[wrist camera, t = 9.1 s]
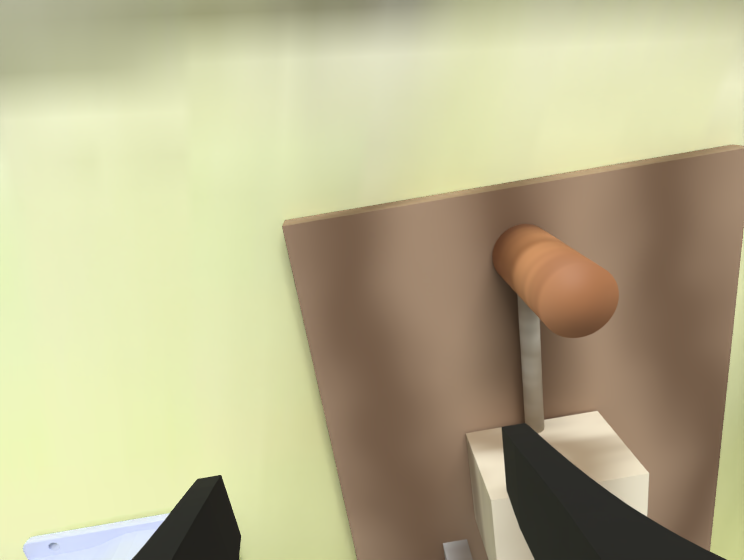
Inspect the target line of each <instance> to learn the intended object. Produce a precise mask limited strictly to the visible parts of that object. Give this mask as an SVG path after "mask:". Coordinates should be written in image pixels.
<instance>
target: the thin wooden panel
mask: <svg viewBox="0 0 744 560" xmlns="http://www.w3.org/2000/svg"><path fill="white" fill-rule="evenodd" d="M520 224H532V225H535V226H538V227H540V228H541V229H543V230H544V231H546V232H548V233H549V234H551V235H552V236H554V237H555V238H557V239H559V240H560V241H562V242H563V243H565V244H566V245H568V246H570V247H571V248H573V249H574V250H576V251H577V252H579V253H580V254H582V255H584V256H585V257H587V258H588V259H590V260H591V261H593V262H595V263H596V264H598V265H599V266H601V267H602V268H604V269H605V270H607V271H608V272H609V273H610V274H611V275H612V276H613V277H614V279H615V281H616V283H617V285H618V290H619V301H618V305H617V308H616V310H615V312H614V314H613V316H612V317H611V319H610V320H609V321H608V322H607V323H606V324H605V325H604V326H603V327H602V328H601V329H599V330H598V331H596V332H595V333H593V334H590V335H588V336H585V337H580V338H566V337H562V336H559V335H557V334H555V333H553V332H552V331H551V330H550V329H549V328H548V327H547V326H546V325H545V324H544V323H543V322H542V321H541V320H540V341H541V364H542V386H543V409H544V420H546V419H552V418H558V417H564V416H569V415H575V414H581V413H587V412H593V411H598V412H599V413H600V415H601V416H602V417H603V418H604V419H605V421H606V422H607V423H608V424H609V425H610V427H611V428H612V429H613V430H614V431H615V433H616V434H617V435H618V436H619V438H620V439H621V440H622V441H623V442H624V444H625V445H626V446H627V447H628V448H629V450H630V451H631V452H632V453H633V454H634V456H635V457H636V458H637V459H638V460H639V462H640V463H641V464H642V465H643V466H644V468H645V469H646V470H647V471H648V472H649V487H648V509H647V517H648V518H650V519H652V520H653V521H655V522H657V523H658V524H660V525H662V526H663V527H665V528H667V529H669V530H670V531H672V532H674V533H676V534H677V535H679V536H681V537H683V538H685V539H687V540H689V541H691V542H692V543H694V544H696V545H698V546H700V547H702V548H704V549H706V550H708V551H710V544H711V535H712V525H713V516H714V506H715V497H716V487H717V477H718V468H719V458H720V449H721V439H722V430H723V420H724V411H725V401H726V391H727V382H728V372H729V363H730V353H731V344H732V334H733V325H734V315H735V305H736V296H737V286H738V277H739V267H740V258H741V248H742V239H743V229H744V146H740V145H728V146H722V147H716V148H710V149H704V150H698V151H692V152H686V153H680V154H675V155H669V156H663V157H657V158H651V159H645V160H639V161H633V162H627V163H621V164H615V165H609V166H604V167H598V168H592V169H586V170H580V171H574V172H568V173H562V174H556V175H550V176H544V177H538V178H533V179H527V180H521V181H515V182H509V183H503V184H497V185H491V186H485V187H479V188H473V189H467V190H462V191H456V192H450V193H444V194H438V195H432V196H426V197H420V198H414V199H408V200H402V201H396V202H391V203H385V204H379V205H373V206H367V207H361V208H355V209H349V210H343V211H337V212H331V213H325V214H320V215H314V216H308V217H302V218H296V219H290V220H285V221H284V224H283V226H282V228H283V232H284V237H285V241H286V245H287V250H288V254H289V259H290V263H291V268H292V272H293V276H294V281H295V285H296V290H297V294H298V299H299V303H300V307H301V312H302V316H303V321H304V325H305V330H306V334H307V338H308V343H309V347H310V352H311V356H312V361H313V365H314V369H315V374H316V378H317V383H318V387H319V392H320V396H321V400H322V405H323V409H324V414H325V418H326V423H327V427H328V431H329V436H330V440H331V445H332V449H333V454H334V458H335V462H336V467H337V471H338V476H339V480H340V485H341V489H342V493H343V498H344V502H345V507H346V511H347V516H348V520H349V524H350V529H351V533H352V538H353V542H354V547H355V551H356V556H357V560H488V556H487V553H486V550H485V547H484V544H483V541H482V538H481V535H480V532H479V529H478V526H477V523H476V520H475V513H474V504H473V495H472V486H471V477H470V468H469V459H468V450H467V441H466V433H470V432H476V431H482V430H488V429H494V428H499V427H504V426H510V425H516V424H522V423H525V413H524V397H523V380H522V364H521V347H520V331H519V314H518V298H517V293H516V292H515V291H514V290H513V289H512V288H511V287H510V286H509V285H508V284H507V282H506V281H505V280H504V279H503V278H502V277H501V276H500V275H499V274H498V273H497V271H496V270H495V267H494V265H493V261H492V253H493V248H494V245H495V243H496V241H497V240H498V238H499V237H500V236H501V235H502V234H503V233H504V232H505V231H506V230H508V229H509V228H511V227H513V226H516V225H520Z"/></svg>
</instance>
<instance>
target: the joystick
mask: <svg viewBox="0 0 744 560" xmlns="http://www.w3.org/2000/svg"><path fill="white" fill-rule="evenodd" d="M492 261H493V265H494V267H495V270H496V271H497V273H498V274H499V275H500V276H501V277H502V278H503V279H504V280H505V281H506V282H507V284H508V285H509V286H510V287H511V288H512V289H513V290H514V291H515V292H516V293H517V298H518V314H519V331H520V347H521V364H522V380H523V397H524V413H525V423H526V424H527V425H529V426H530V427H531V428H532V429H533V430H534V431H536V432H537V433H538V434H539V435H540V436H541V437H542V438H543V439H545V440H546V441H547V442H548V443H549V444H550V445H551V446H553V447H554V448H555V449H556V450H557V451H558V452H560V453H561V454H562V455H563V456H564V457H566V458H567V459H568V460H569V461H570V462H572V463H573V464H574V465H575V466H577V467H578V468H579V469H580V470H582V471H583V472H584V473H585V474H587V475H588V476H589V477H590V478H592V479H593V480H594V481H596V482H597V483H598V484H600V485H601V486H602V487H604V488H605V489H607V490H608V491H609V492H611V493H612V494H614V495H615V496H616V497H618V498H619V499H621V500H622V501H623V502H625V503H626V504H628V505H629V506H631V507H632V508H634V509H635V510H637V511H639V512H640V513H642V514H644V515H645V516H647V509H648V487H649V472H648V471H647V470H646V469H645V468H644V466H643V465H642V464H641V463H640V462H639V460H638V459H637V458H636V457H635V456H634V454H633V453H632V452H631V451H630V450H629V448H628V447H627V446H626V445H625V444H624V442H623V441H622V440H621V439H620V438H619V436H618V435H617V434H616V433H615V431H614V430H613V429H612V428H611V427H610V425H609V424H608V423H607V422H606V421H605V419H604V418H603V417H602V416H601V415H600V413H599V412H598V411H593V412H587V413H581V414H575V415H569V416H564V417H558V418H552V419H546V420H544V409H543V386H542V364H541V341H540V320H541V321H542V322H543V323H544V324H545V325H546V326H547V327H548V328H549V329H550V330H551V331H552V332H553V333H555V334H557V335H559V336H562V337H566V338H580V337H585V336H588V335H590V334H593V333H595V332H596V331H598V330H599V329H601V328H602V327H603V326H604V325H605V324H606V323H607V322H608V321H609V320H610V319H611V317H612V316H613V314H614V312H615V310H616V308H617V305H618V301H619V290H618V285H617V283H616V281H615V279H614V277H613V276H612V275H611V274H610V273H609V272H608V271H607V270H605V269H604V268H602V267H601V266H599V265H598V264H596V263H595V262H593V261H591V260H590V259H588V258H587V257H585V256H584V255H582V254H580V253H579V252H577V251H576V250H574V249H573V248H571V247H570V246H568V245H566V244H565V243H563V242H562V241H560V240H559V239H557V238H555V237H554V236H552V235H551V234H549V233H548V232H546V231H544V230H543V229H541V228H540V227H538V226H535V225H532V224H520V225H516V226H513V227H511V228H509V229H508V230H506V231H505V232H504V233H503V234H502V235H501V236H500V237H499V238H498V240H497V241H496V243H495V245H494V248H493V253H492ZM466 441H467V450H468V459H469V468H470V477H471V486H472V495H473V504H474V513H475V520H476V523H477V526H478V529H479V532H480V535H481V538H482V541H483V544H484V547H485V550H486V553H487V556H488V560H535V559H534V557H533V555H532V553H531V551H530V549H529V547H528V545H527V543H526V541H525V539H524V536H523V534H522V532H521V530H520V527H519V525H518V522H517V519H516V516H515V514H514V511H513V508H512V505H511V502H510V499H509V496H508V493H507V490H506V478H505V465H504V453H503V441H502V428H501V427H499V428H494V429H488V430H482V431H476V432H470V433H466Z"/></svg>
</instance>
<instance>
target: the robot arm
mask: <svg viewBox="0 0 744 560" xmlns="http://www.w3.org/2000/svg"><path fill="white" fill-rule="evenodd" d="M501 428H502V441H503V453H504V465H505V478H506V490H507V493H508V496H509V499H510V502H511V505H512V508H513V511H514V514H515V516H516V519H517V522H518V525H519V527H520V530H521V532H522V534H523V536H524V539H525V541H526V543H527V545H528V547H529V549H530V551H531V553H532V555H533V557H534V559H535V560H726V559H724V558H722V557H720V556H718V555H716V554H714V553H712V552H710V551H708V550H706V549H704V548H702V547H700V546H698V545H696V544H694V543H692V542H691V541H689V540H687V539H685V538H683V537H681V536H679V535H677V534H676V533H674V532H672V531H670V530H669V529H667V528H665V527H663V526H662V525H660V524H658V523H657V522H655V521H653V520H652V519H650V518H648V517H647V516H645V515H644V514H642V513H640V512H639V511H637V510H635V509H634V508H632V507H631V506H629V505H628V504H626V503H625V502H623V501H622V500H621V499H619V498H618V497H616V496H615V495H614V494H612V493H611V492H609V491H608V490H607V489H605V488H604V487H602V486H601V485H600V484H598V483H597V482H596V481H594V480H593V479H592V478H590V477H589V476H588V475H587V474H585V473H584V472H583V471H582V470H580V469H579V468H578V467H577V466H575V465H574V464H573V463H572V462H570V461H569V460H568V459H567V458H566V457H564V456H563V455H562V454H561V453H560V452H558V451H557V450H556V449H555V448H554V447H553V446H551V445H550V444H549V443H548V442H547V441H546V440H545V439H543V438H542V437H541V436H540V435H539V434H538V433H537V432H536V431H534V430H533V429H532V428H531V427H530V426H529V425H527V424H526V423H522V424H516V425H510V426H504V427H501ZM240 541H241V534H240V531H239V528H238V525H237V522H236V519H235V516H234V513H233V510H232V507H231V504H230V501H229V498H228V495H227V492H226V489H225V485H224V482H223V479H222V476H221V475H218V476H212V477H207V478H201V479H197V480H196V481H195V483H194V484H193V485H192V486H191V487H190V489H189V490H188V491H187V492H186V494H185V495H184V496H183V497H182V499H181V500H180V501H179V502H178V504H177V505H176V506H175V508H174V509H173V510H172V511H171V513H168V514H162V515H156V516H150V517H144V518H139V519H133V520H127V521H121V522H115V523H109V524H104V525H98V526H92V527H86V528H80V529H74V530H69V531H63V532H57V533H51V534H45V535H40V536H34V537H31V538H29V539H28V540H27V541H26V543H25V544H24V546H23V551H24V553H25V555H26V557H27V559H28V560H239V551H240ZM56 543H57V544H56Z"/></svg>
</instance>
